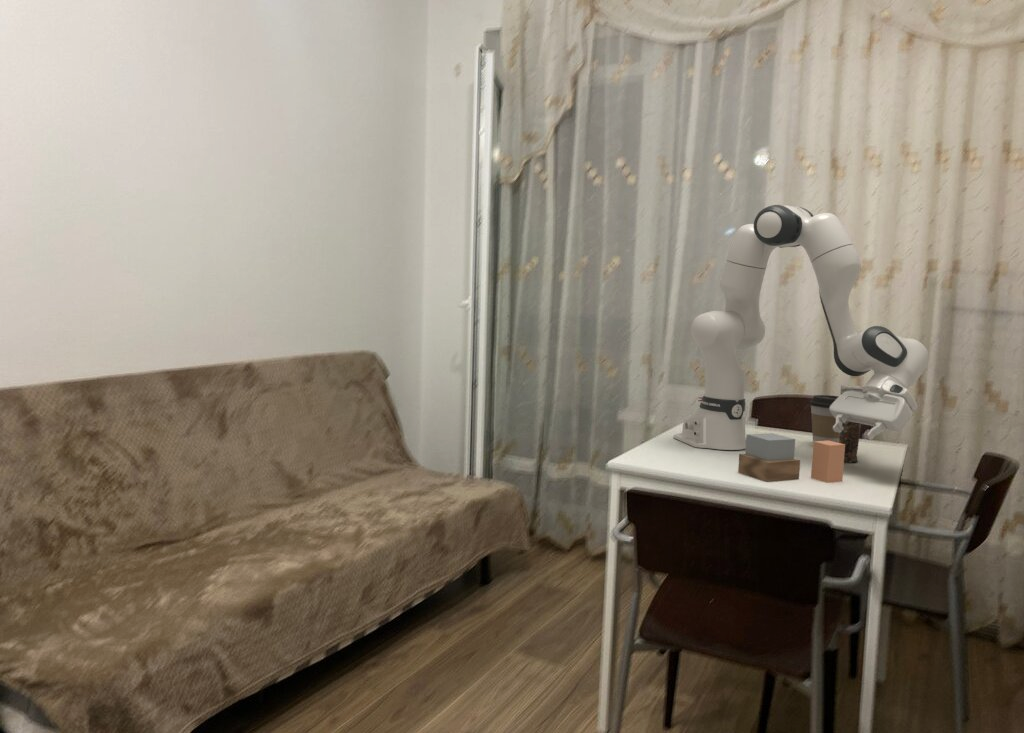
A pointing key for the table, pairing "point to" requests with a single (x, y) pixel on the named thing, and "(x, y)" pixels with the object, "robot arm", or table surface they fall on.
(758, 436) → the tower top
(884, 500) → the table surface
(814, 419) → the coffee cup
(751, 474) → the tower base
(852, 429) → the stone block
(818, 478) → the terracotta block
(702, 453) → the table surface
